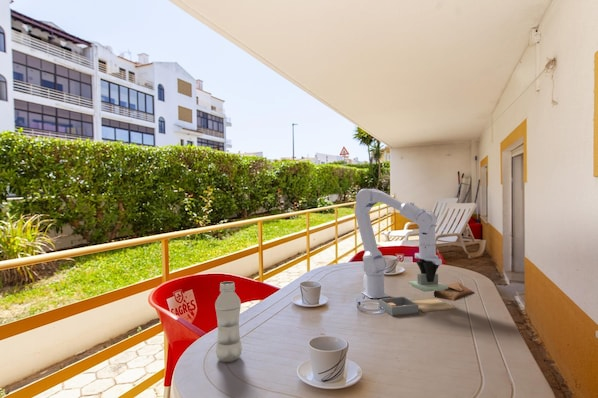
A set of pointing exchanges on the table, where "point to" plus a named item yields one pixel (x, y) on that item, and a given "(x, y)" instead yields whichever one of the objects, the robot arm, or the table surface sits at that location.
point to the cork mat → (431, 304)
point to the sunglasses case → (453, 292)
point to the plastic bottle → (228, 323)
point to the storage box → (398, 306)
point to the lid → (428, 283)
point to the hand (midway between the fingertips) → (428, 280)
